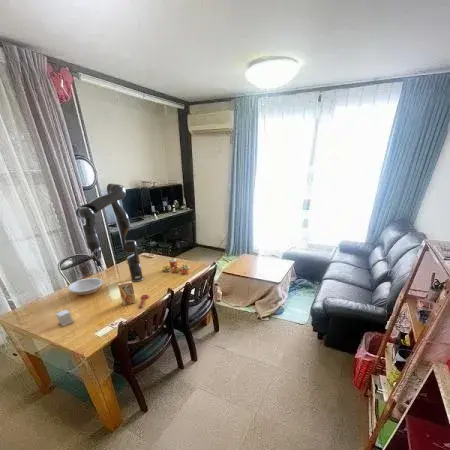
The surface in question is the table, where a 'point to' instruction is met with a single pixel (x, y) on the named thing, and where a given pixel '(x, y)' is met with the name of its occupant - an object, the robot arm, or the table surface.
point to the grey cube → (64, 317)
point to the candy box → (127, 292)
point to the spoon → (143, 300)
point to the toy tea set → (176, 269)
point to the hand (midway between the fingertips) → (99, 265)
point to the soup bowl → (85, 286)
